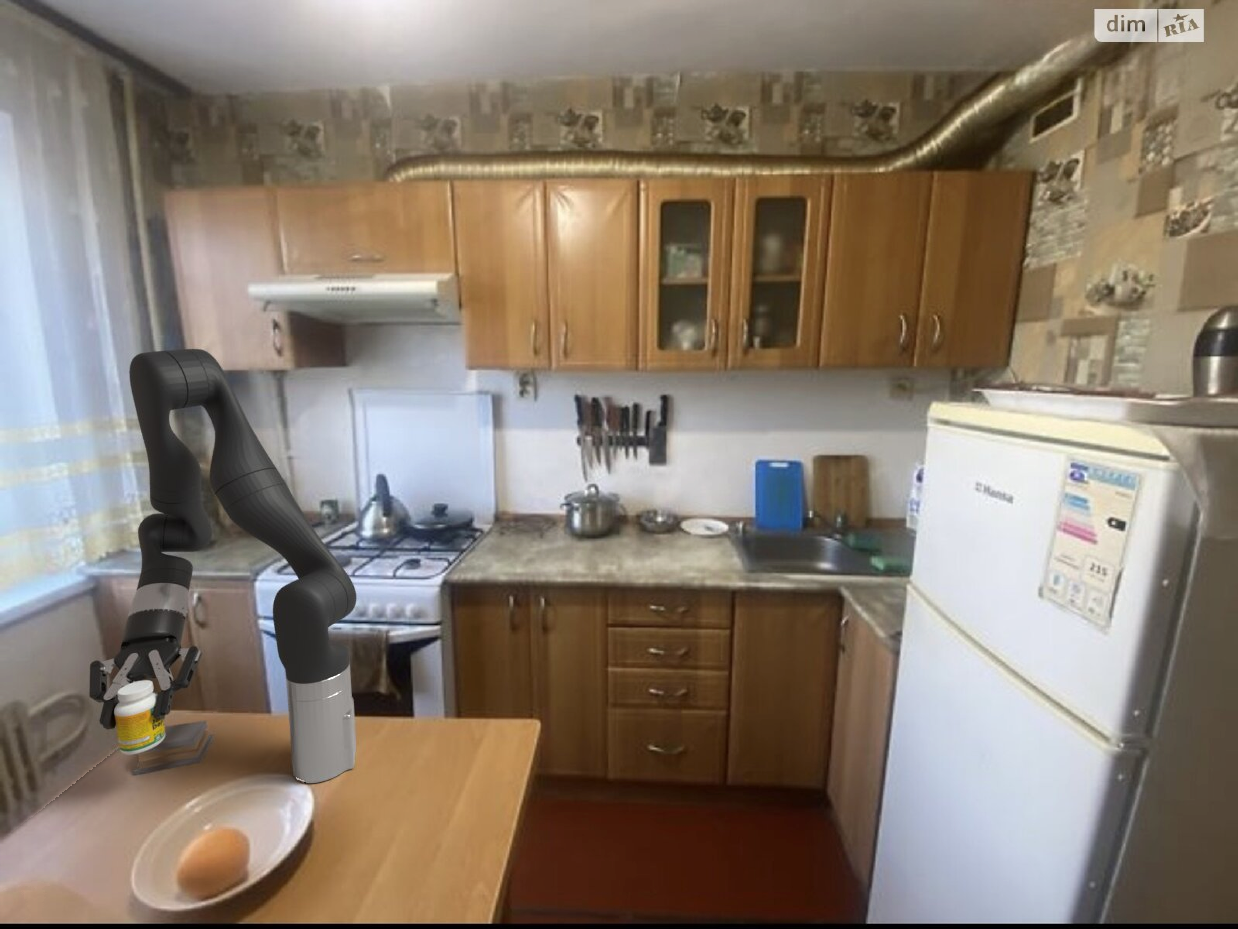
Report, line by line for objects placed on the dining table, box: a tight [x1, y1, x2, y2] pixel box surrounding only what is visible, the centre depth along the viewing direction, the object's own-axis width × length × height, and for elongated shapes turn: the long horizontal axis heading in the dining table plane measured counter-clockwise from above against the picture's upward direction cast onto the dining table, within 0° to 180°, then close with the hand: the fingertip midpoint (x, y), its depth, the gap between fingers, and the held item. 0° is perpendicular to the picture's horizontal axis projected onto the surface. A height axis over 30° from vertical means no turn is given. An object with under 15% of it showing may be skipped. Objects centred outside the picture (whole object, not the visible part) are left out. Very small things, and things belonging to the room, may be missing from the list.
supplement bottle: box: [114, 679, 166, 756], centre depth 82 cm, size 5×5×10 cm
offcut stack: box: [133, 720, 215, 776], centre depth 92 cm, size 9×7×4 cm
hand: (134, 722), depth 80 cm, fingers closed on supplement bottle, 5 cm apart
